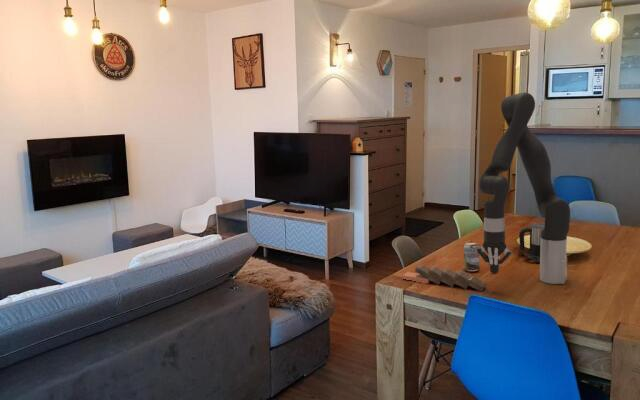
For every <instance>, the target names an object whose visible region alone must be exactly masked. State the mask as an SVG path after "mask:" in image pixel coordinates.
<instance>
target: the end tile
mask: <svg viewBox="0 0 640 400" xmlns="http://www.w3.org/2000/svg"><path fill="white" fill-rule="evenodd" d="M403 279H406V280H412V281H418V282H425V283H428V282H430V281H431V280H429V279H427V278H426V277H424V276H422V275H420V274H419V273H417V272H410V271H406V272H405V273H404V274H403V275H402V280H403ZM412 281H411V282H412ZM418 282H417V283H418ZM431 282H432V281H431ZM431 282H430V283H431ZM425 283H424V284H425ZM428 284H429V283H428Z"/></svg>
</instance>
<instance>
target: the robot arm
mask: <svg viewBox="0 0 640 400" xmlns="http://www.w3.org/2000/svg"><path fill="white" fill-rule="evenodd" d="M500 105H501V106H500V108H501V114H502V116H503V119H504V120H505V122H506V125H507V129H506V131H505V133H504V134H503V135H502V136H501V138H500V139H499V141H498V142H497V144H496V145H495V149H494V150H493V154H492V157H491V161H490V163H489V164H488V166H487V167H486V169H485V171H484V172H483V173H482V174H481V176H480V179H479V183H478V187H479V188H478V189H479V191H480V192H481V193H483V194H485V195H493V196H494V197H493V199H491V200H487V201H485V203H484V205H483V218H484V219H483V242H482V246H480V247H478V249H477V251H478V253H479V256H480V257H481V258H482V260H483V261H484V262H485V263H488V264H489V266H490V267H489V271H490V273H491V275H497V274H498V273H499V272H500V265H502V264H503V263H504V262H505V261H507V259H508V258H509V257H510V255H511V254H512V253H513V250H510V249H509V248H508V247H507V244H506V221H505V205H506V203H507V202H506V201H507V197H508V194H509V189H510V183H509V180H508V178H507V177H506V176H503V175H500V174H502V173H505V172H508V171H509V170H510V169H511V166H512V162H513V160H514V156H515V153H516V150H518V153H519V157H520V160H521V163H522V166H523V168H524V170H525V172H526V174H527V177H528V180H529V183H530V185H531V186H532V189H533V193H534V197H535V201H536V205H537V210H538V212H539V214H540V215H541V216H542V217H543V218H544V223H545V227H544V229H543V230H542V231H541V246H540V262H539V281H541V282H542V283H546V284H550V285H565V283H566V281H567V277H568V276H567V273H568V256H567V241H568V240H567V238H568V234H569V232H570V224H571V223H570V221H571V207H570V203H568V202H567V201H566V200H565V199H563V198H560V197H558V195H557V193H556V190H555V188H554V185H553V182H552V175H551V174H552V165H551V161H550V157H549V155H548V151H547V149H546V147H545V145H544V144H543V142H542V141H541V140H540V139H539V138H538V137H537V136H536V135H535V134H534V133H533V132H532V131H531V130H530V128H529V127H528V123H529V122H530V120H531V118H532V116H533V113H534V111H535V108H536V100H535V98H534V96H533V95H532V94H531V93H529V92H520V93H515V94H511V95H508V96H506V97H504V98H503V100H502V101H501V104H500ZM503 253H504V256H503V257H502V258H501V255H502V254H503ZM500 258H501V259H500Z"/></svg>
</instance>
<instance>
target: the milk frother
mask: <svg viewBox="0 0 640 400" xmlns="http://www.w3.org/2000/svg"><path fill="white" fill-rule="evenodd" d="M544 227H545V222H536V223H535V222H534V223H531V224H530V226H524V227H523V228H521V230H519V235H518V237H519V238H518V239H519V249H520V251H522V252H524V251H525V234H526V233H529V253H527V252H525V253H524V254H523V255H524V256H525V257H527V258H528V259H530V260H531V261H533V262H535V263H540V246H541V231H542V230H543V229H544Z"/></svg>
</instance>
